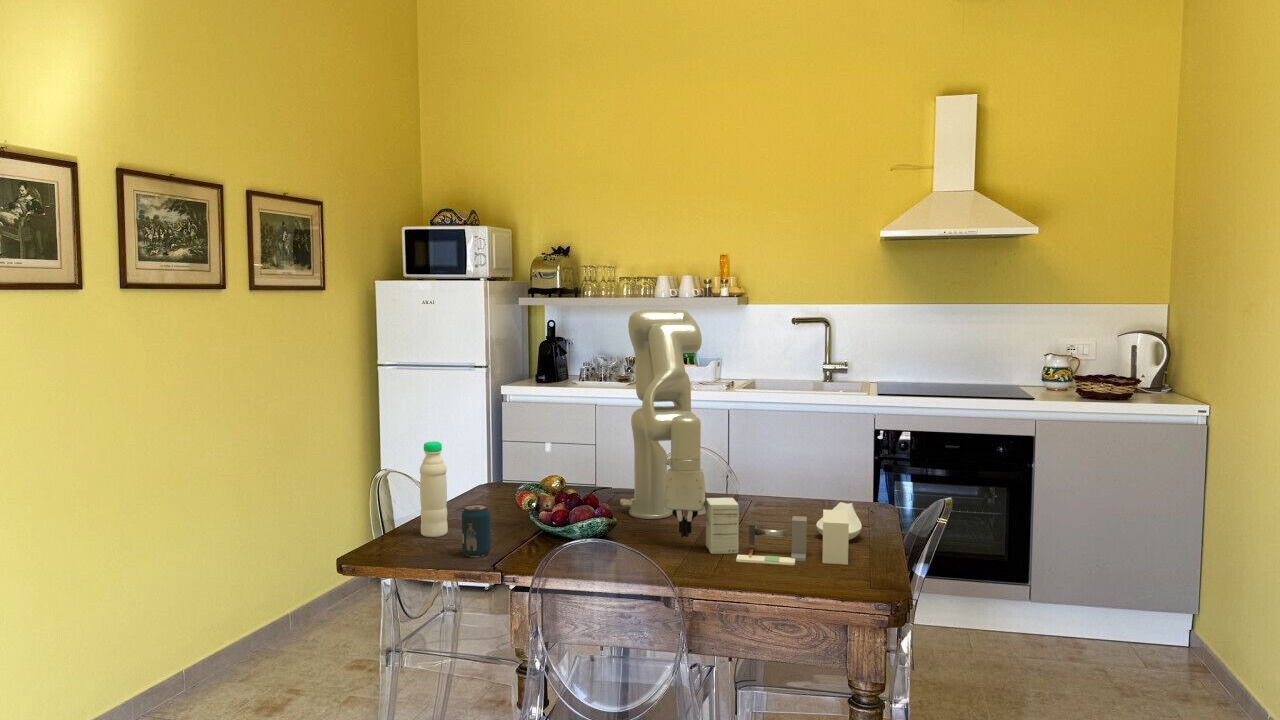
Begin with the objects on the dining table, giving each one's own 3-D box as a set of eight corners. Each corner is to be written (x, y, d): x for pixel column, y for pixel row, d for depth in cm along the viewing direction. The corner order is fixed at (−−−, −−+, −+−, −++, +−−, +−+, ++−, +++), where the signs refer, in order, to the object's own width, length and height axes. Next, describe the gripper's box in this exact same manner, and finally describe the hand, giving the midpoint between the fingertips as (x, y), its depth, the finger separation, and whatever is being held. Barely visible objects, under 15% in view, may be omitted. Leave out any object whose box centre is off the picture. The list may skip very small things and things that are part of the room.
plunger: (747, 555, 222) (747, 529, 222) (750, 544, 232) (750, 519, 232) (786, 558, 220) (786, 531, 220) (788, 546, 231) (788, 520, 230)
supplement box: (705, 546, 234) (705, 497, 233) (733, 545, 235) (734, 497, 234) (709, 554, 227) (710, 504, 226) (739, 553, 228) (739, 503, 227)
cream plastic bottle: (415, 534, 245) (413, 442, 243) (437, 529, 250) (436, 439, 248) (430, 539, 240) (429, 445, 238) (452, 534, 246) (451, 442, 244)
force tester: (736, 561, 221) (736, 521, 220) (742, 543, 236) (742, 505, 236) (848, 568, 216) (849, 526, 215) (846, 549, 231) (847, 510, 230)
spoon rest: (858, 547, 234) (859, 519, 234) (812, 542, 238) (813, 515, 238) (868, 524, 256) (869, 499, 256) (826, 521, 260) (826, 496, 260)
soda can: (487, 548, 232) (487, 502, 231) (493, 556, 225) (492, 508, 224) (460, 551, 229) (459, 504, 228) (464, 559, 223) (464, 511, 222)
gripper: (653, 466, 229) (653, 538, 230) (713, 468, 226) (712, 541, 227) (659, 460, 236) (659, 530, 238) (716, 463, 233) (716, 533, 235)
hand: (685, 535), depth 233 cm, fingers closed
